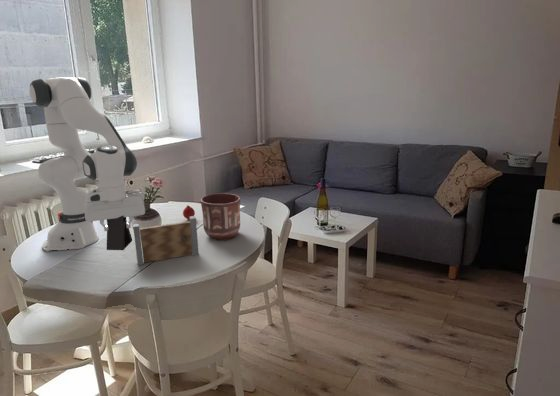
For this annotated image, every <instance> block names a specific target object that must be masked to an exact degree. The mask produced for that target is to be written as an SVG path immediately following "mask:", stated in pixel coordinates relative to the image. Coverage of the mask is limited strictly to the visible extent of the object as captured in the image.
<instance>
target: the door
mask: <svg viewBox="0 0 560 396" xmlns="http://www.w3.org/2000/svg"><path fill="white" fill-rule="evenodd" d="M139 231H140V239H141V248H142V256H143V264H145V263H150V262H156V261H161V260H167V259H173V258H178V257H180V258H181V257H185V256H191V255H193V251H192V239H191V227H190V220H187V221H181V222H174V223H168V224H160V225H154V226H147V227H139Z"/></svg>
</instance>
